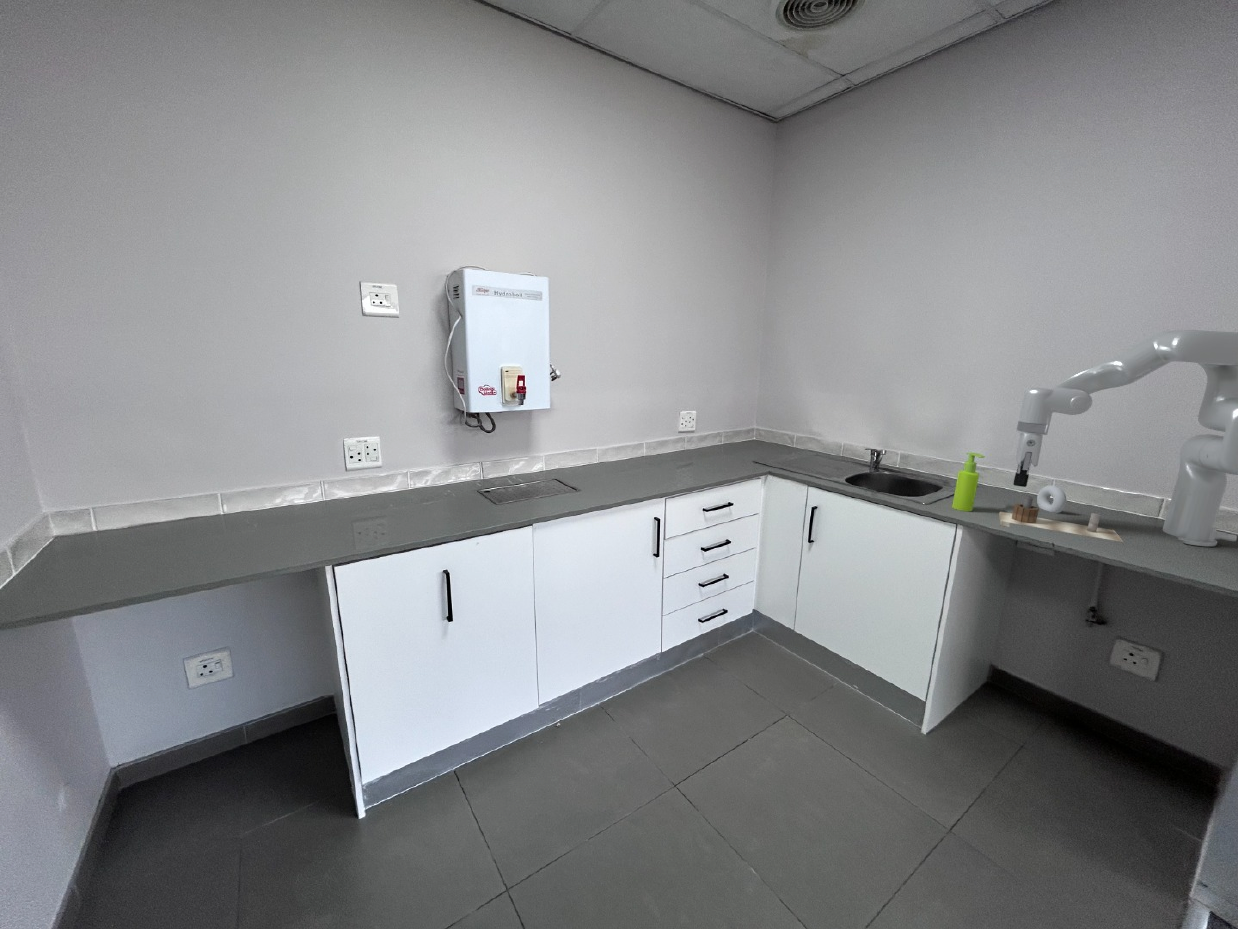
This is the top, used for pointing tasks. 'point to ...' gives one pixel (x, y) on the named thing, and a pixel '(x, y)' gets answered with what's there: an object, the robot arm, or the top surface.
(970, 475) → the soap dispenser
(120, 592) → the top surface
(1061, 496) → the donut
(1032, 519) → the walnut ring
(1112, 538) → the peg board
